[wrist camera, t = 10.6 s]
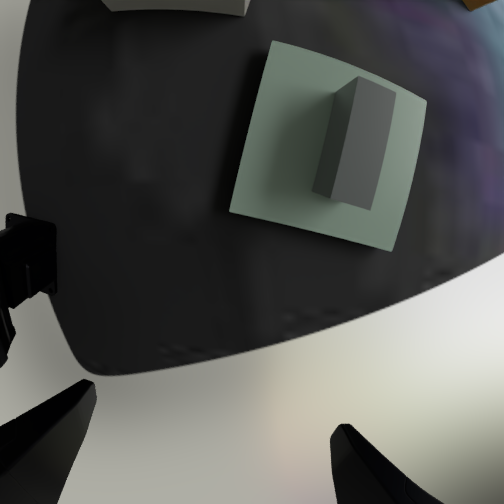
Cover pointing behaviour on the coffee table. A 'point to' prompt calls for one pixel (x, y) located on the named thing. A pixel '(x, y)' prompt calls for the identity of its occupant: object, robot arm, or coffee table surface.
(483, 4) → the small box
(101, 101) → the coffee table surface
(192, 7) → the storage box
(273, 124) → the lid
